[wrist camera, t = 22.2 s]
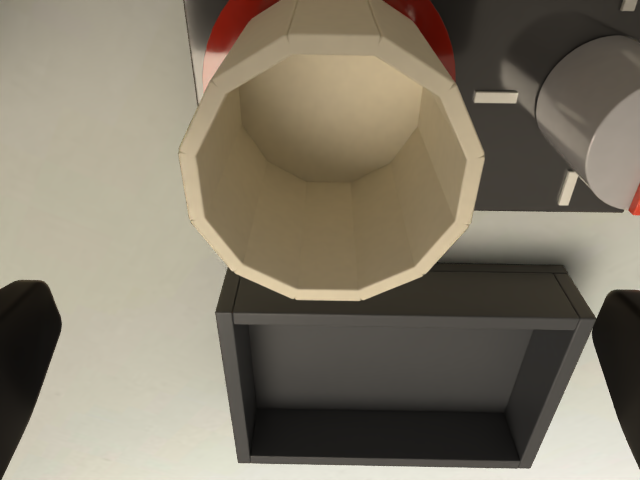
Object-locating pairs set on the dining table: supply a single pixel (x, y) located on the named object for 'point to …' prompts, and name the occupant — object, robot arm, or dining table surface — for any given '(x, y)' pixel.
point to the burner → (250, 3)
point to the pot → (331, 152)
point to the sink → (403, 368)
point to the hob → (500, 87)
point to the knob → (597, 117)
